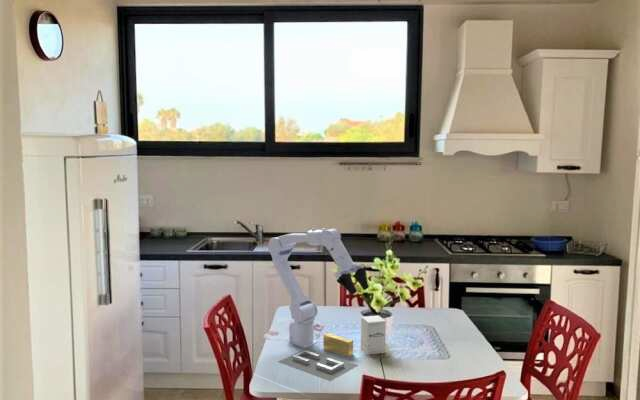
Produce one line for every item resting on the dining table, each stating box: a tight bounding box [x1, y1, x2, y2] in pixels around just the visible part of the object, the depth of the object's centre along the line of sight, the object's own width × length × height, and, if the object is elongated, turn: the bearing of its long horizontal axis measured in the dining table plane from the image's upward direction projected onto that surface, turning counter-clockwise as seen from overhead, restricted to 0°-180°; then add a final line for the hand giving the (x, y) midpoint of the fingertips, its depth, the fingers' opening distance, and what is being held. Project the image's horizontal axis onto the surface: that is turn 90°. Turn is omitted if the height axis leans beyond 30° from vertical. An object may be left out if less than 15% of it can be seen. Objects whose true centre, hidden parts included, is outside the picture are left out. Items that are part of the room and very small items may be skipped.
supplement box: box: [360, 315, 387, 355], centre depth 195 cm, size 7×7×13 cm
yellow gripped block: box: [323, 332, 354, 358], centre depth 193 cm, size 12×3×6 cm, turn 50°
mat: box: [277, 347, 359, 382], centre depth 183 cm, size 24×16×1 cm, turn 50°
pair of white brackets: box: [293, 349, 344, 374], centre depth 183 cm, size 18×7×2 cm, turn 50°
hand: (360, 291), depth 184 cm, fingers open, 7 cm apart
